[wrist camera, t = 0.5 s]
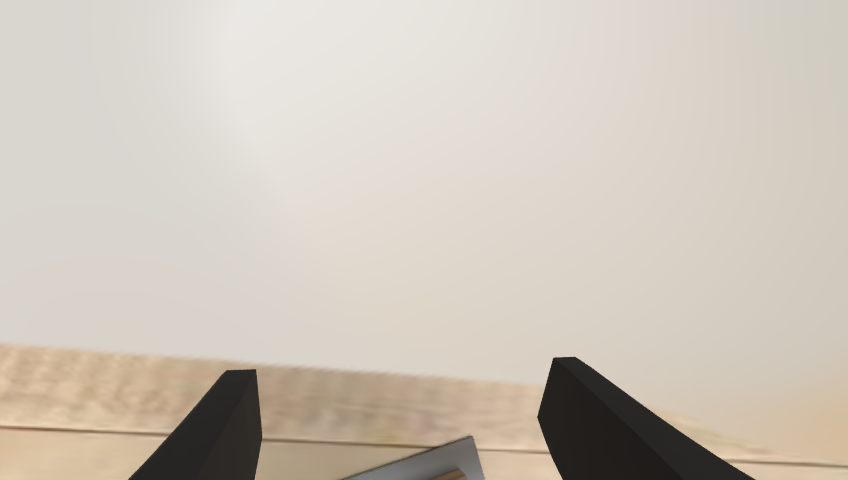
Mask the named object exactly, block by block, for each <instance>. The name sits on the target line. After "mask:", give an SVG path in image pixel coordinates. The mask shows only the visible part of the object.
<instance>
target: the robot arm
mask: <svg viewBox="0 0 848 480" xmlns="http://www.w3.org/2000/svg"><path fill="white" fill-rule="evenodd" d="M537 418H538V421H539V424H540V427H541V429H542V432H543V435H544V438H545V441H546V443H547V446H548V449H549V451H550V454H551V456H552V459H553V461H554V463H555V465H556V467H557V469H558V471H559V473H560V475H561V477H562V479H563V480H755V479H754V478H752V477H750V476H749V475H747V474H745V473H743V472H742V471H740V470H738V469H737V468H735V467H733V466H732V465H730V464H729V463H727V462H725V461H724V460H722V459H721V458H719V457H717V456H716V455H714V454H713V453H711V452H710V451H708V450H707V449H705V448H704V447H702V446H701V445H699V444H698V443H696V442H695V441H693V440H692V439H690V438H689V437H687V436H686V435H684V434H683V433H681V432H680V431H678V430H677V429H675V428H674V427H673V426H671V425H670V424H668V423H667V422H665V421H664V420H663V419H661V418H660V417H658V416H657V415H655V414H654V413H653V412H651V411H650V410H649V409H647V408H646V407H644V406H643V405H642V404H640V403H639V402H637V401H636V400H635V399H633V398H632V397H631V396H629V395H628V394H627V393H625V392H624V391H622V390H621V389H620V388H618V387H617V386H616V385H614V384H613V383H611V382H610V381H609V380H608V379H606V378H605V377H603V376H602V375H601V374H599V373H598V372H597V371H595V370H594V369H592V368H591V367H590V366H588V365H587V364H585V363H584V362H582V361H581V360H579V359H578V358H576V357H560V358H553V361H552V365H551V368H550V372H549V376H548V380H547V383H546V387H545V391H544V394H543V398H542V402H541V405H540V409H539V413H538V416H537ZM261 440H262V428H261V417H260V407H259V396H258V385H257V375H256V369H250V370H227V371H226V372H224V373H223V374H222V375H221V376H220V378H219V379H218V380H217V381H216V382H215V384H214V385H213V386H212V387H211V388H210V390H209V391H208V392H207V393H206V394H205V395H204V397H203V398H202V399H201V400H200V401H199V403H198V404H197V405H196V406H195V407H194V408H193V410H192V411H191V412H190V413H189V414H188V415H187V416H186V418H185V419H184V420H183V421H182V422H181V423H180V424H179V426H178V427H177V428H176V429H175V430H174V431H173V432H172V433H171V434H170V435H169V437H168V438H167V439H166V440H165V441H164V442H163V443H162V444H161V445H160V446H159V448H158V449H157V450H156V451H155V452H154V453H153V454H152V455H151V456H150V457H149V458H148V459H147V461H146V462H145V463H144V464H143V465H142V466H141V467H140V468H139V469H138V470H137V471H136V472H135V473H134V474H133V475H132V476H131V477H130V478H129V479H128V480H254V479H255V474H256V468H257V463H258V458H259V452H260V446H261Z"/></svg>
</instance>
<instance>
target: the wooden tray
mask: <svg viewBox="0 0 848 480" xmlns="http://www.w3.org/2000/svg"><path fill="white" fill-rule="evenodd" d="M344 480H485V478H484V475H483V471H482V467H481V464H480V460H479V457H478V453H477V449H476V446H475V442H474V439H473V437H472V436H470V437H467V438H464V439H461V440H458V441H455V442H452V443H450V444H447V445H444V446H441V447H438V448H435V449H432V450H429V451H426V452H423V453H420V454H417V455H414V456H411V457H408V458H405V459H402V460H399V461H397V462H394V463H391V464H388V465H385V466H382V467H379V468H376V469H373V470H370V471H367V472H364V473H361V474H358V475H355V476H352V477H349V478H347V479H344Z"/></svg>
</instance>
